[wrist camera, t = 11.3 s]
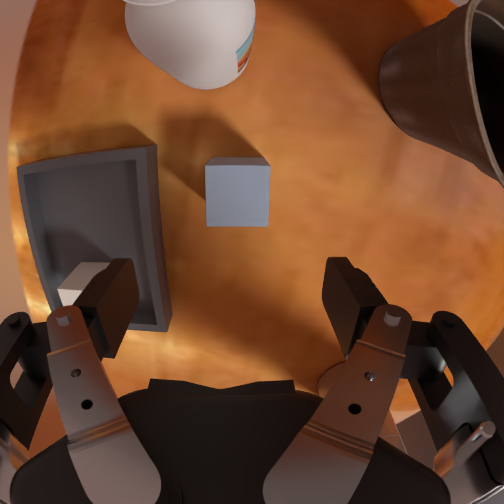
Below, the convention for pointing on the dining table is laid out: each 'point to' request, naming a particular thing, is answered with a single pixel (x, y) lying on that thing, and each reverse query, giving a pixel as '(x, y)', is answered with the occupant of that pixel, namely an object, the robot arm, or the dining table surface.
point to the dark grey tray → (99, 222)
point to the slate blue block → (237, 192)
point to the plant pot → (452, 85)
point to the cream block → (78, 281)
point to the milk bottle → (194, 37)
